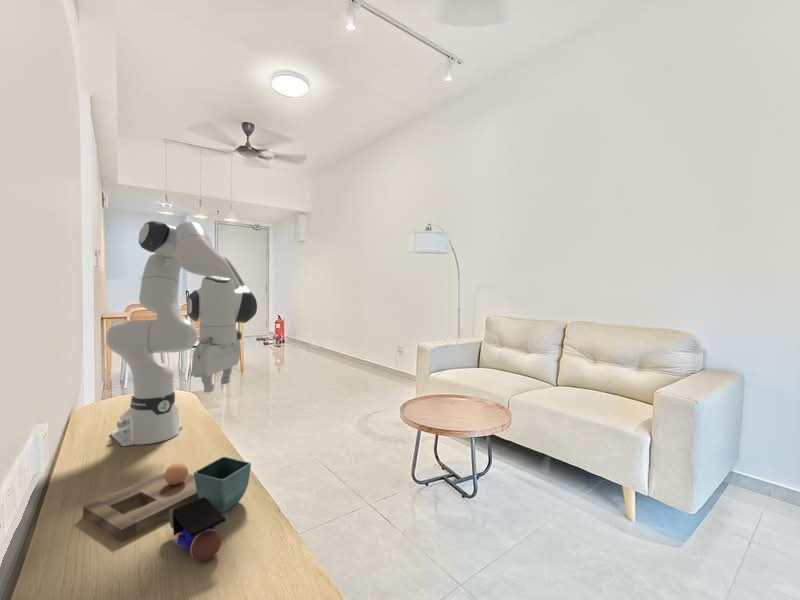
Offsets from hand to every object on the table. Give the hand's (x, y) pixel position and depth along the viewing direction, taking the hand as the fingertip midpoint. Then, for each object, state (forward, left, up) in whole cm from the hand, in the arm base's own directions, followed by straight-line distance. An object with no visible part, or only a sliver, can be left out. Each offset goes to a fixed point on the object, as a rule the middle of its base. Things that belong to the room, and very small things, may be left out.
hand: (217, 387), depth 100 cm
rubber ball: (+1, -11, -18) cm, 22 cm away
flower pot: (+15, -9, -24) cm, 29 cm away
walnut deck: (+1, -17, -23) cm, 29 cm away
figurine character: (+22, -20, -24) cm, 38 cm away
